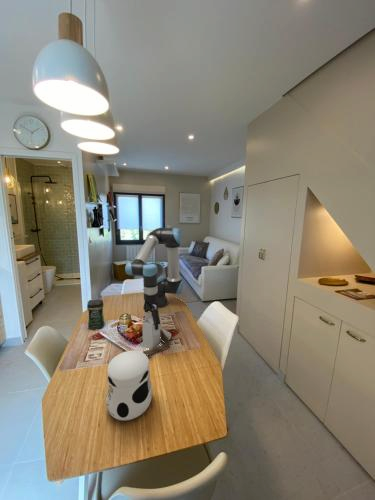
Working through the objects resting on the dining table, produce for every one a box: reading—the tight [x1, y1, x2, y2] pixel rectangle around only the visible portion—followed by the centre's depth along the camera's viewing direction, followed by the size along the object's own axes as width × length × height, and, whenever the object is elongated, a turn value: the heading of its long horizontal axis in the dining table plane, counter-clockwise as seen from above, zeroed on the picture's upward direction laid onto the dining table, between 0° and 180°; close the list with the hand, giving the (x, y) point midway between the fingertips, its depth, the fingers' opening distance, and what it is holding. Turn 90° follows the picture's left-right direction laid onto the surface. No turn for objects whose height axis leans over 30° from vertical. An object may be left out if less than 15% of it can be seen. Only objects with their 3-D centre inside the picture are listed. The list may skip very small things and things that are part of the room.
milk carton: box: [141, 313, 161, 349], centre depth 115 cm, size 7×7×19 cm
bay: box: [137, 327, 171, 356], centre depth 116 cm, size 15×14×5 cm
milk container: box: [105, 350, 153, 422], centre depth 79 cm, size 17×17×18 cm
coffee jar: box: [86, 299, 105, 330], centre depth 133 cm, size 10×8×19 cm
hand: (151, 328), depth 115 cm, fingers open, 13 cm apart
